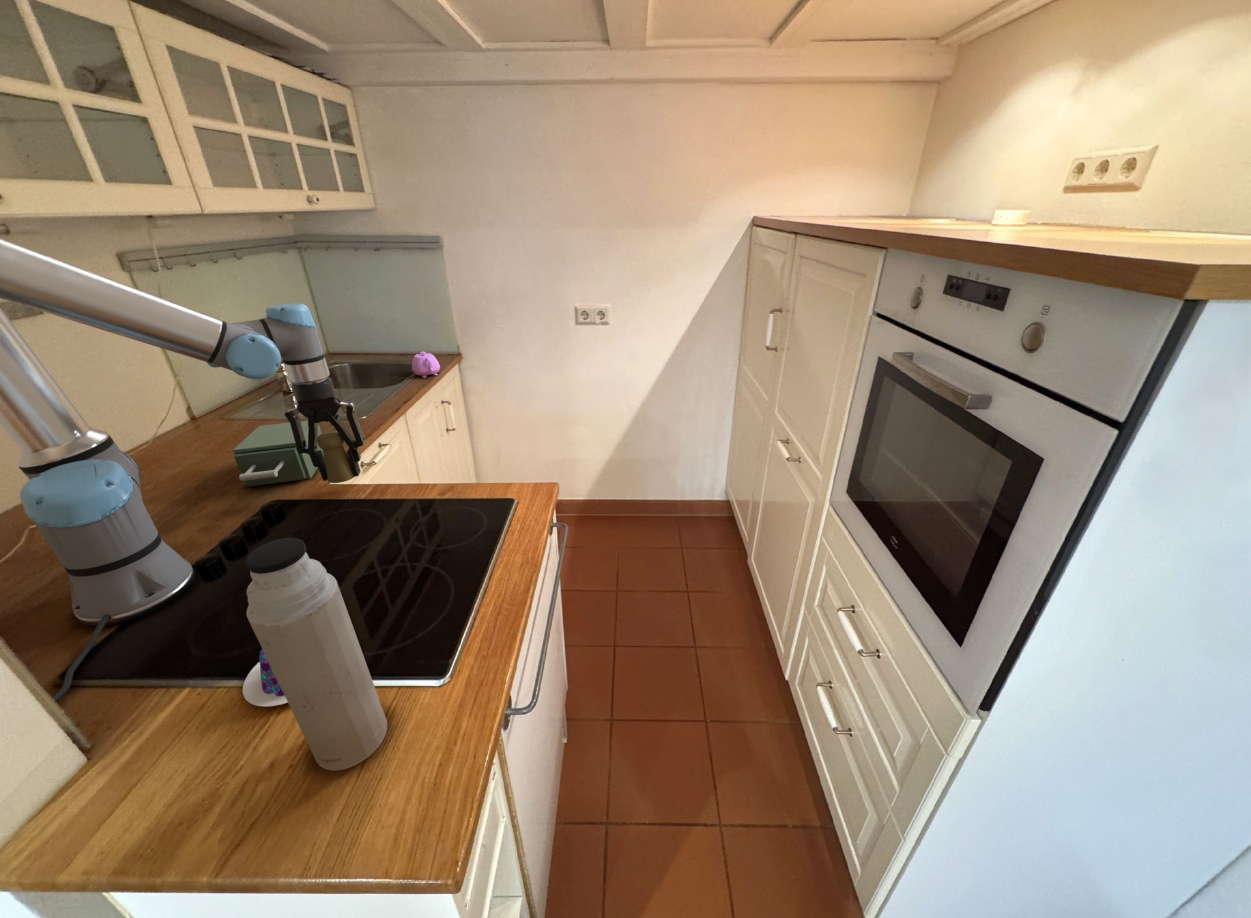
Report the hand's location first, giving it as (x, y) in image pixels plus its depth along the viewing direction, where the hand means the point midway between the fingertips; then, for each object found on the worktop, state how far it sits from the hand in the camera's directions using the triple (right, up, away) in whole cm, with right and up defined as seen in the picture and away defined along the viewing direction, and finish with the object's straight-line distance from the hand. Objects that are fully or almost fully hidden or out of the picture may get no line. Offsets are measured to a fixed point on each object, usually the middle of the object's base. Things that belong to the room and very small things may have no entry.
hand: (342, 475), depth 116 cm
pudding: (+20, -26, -46) cm, 57 cm away
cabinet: (-21, +1, +13) cm, 24 cm away
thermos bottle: (+33, -30, -55) cm, 71 cm away
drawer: (-19, 0, +7) cm, 21 cm away
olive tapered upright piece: (0, 0, 0) cm, 0 cm away
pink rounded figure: (-16, +39, +89) cm, 98 cm away
